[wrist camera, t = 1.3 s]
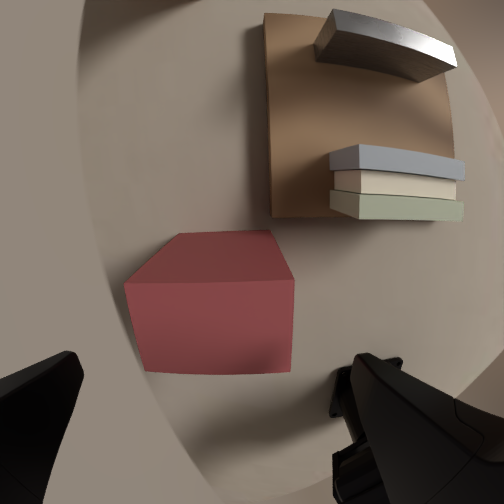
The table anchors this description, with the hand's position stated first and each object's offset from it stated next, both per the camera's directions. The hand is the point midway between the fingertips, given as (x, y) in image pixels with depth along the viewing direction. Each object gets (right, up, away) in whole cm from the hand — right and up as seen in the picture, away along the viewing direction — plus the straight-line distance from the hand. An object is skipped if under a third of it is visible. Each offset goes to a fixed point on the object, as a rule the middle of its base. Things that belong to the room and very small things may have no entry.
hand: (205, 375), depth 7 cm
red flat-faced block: (0, +3, +11) cm, 11 cm away
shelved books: (+9, +8, +8) cm, 15 cm away
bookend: (+9, +16, +6) cm, 20 cm away
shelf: (+9, +13, +8) cm, 18 cm away
